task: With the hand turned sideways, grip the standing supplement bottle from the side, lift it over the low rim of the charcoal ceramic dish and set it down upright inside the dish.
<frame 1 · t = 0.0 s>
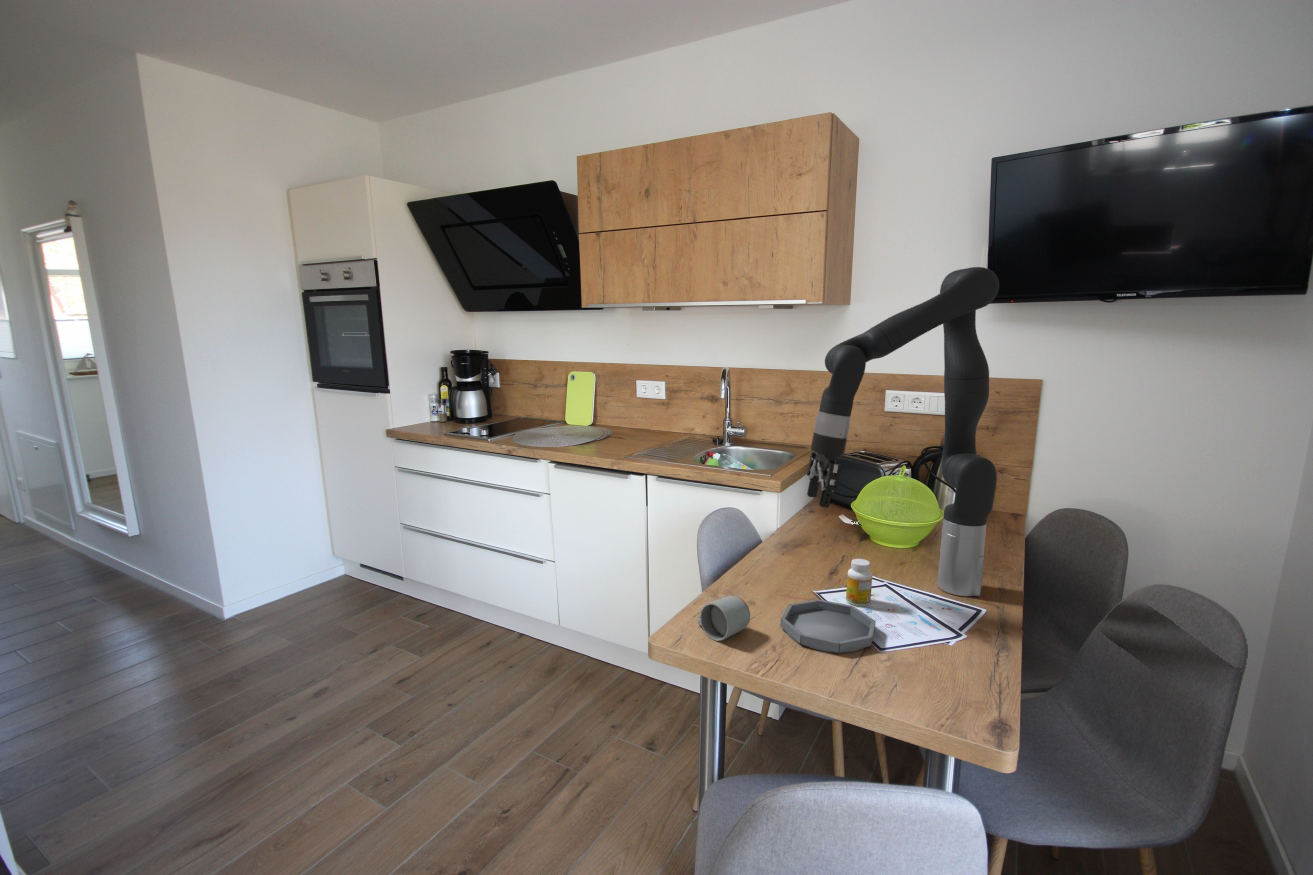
hand: (817, 501, 140), 22 cm above the table, tool pointing down, fingers open, 8 cm apart
fork: (868, 528, 193), on the table
dish: (827, 630, 126), on the table
supplement bottle: (857, 602, 139), on the table
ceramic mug: (719, 632, 125), on the table
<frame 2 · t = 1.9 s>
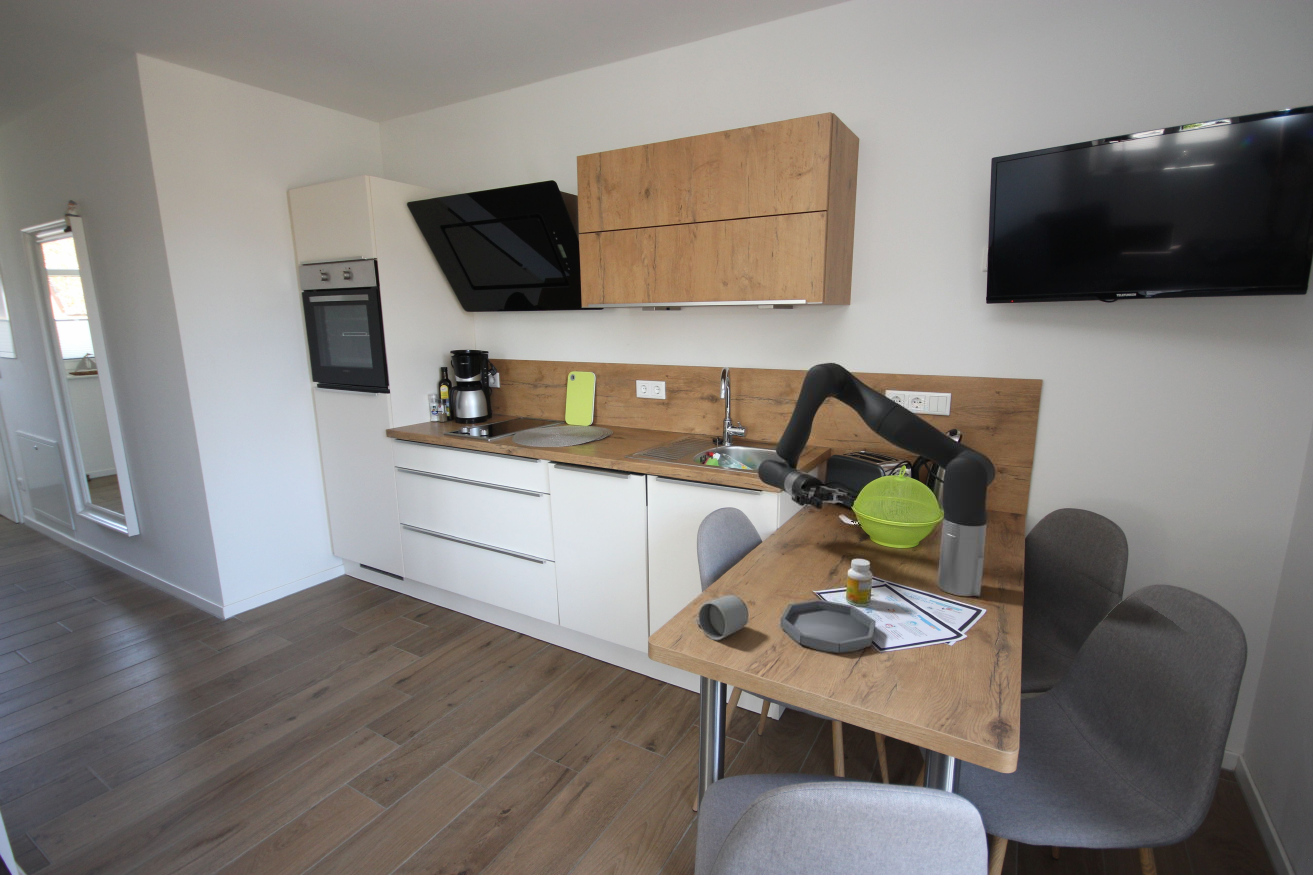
hand: (836, 504, 146), 20 cm above the table, tool horizontal, fingers open, 8 cm apart
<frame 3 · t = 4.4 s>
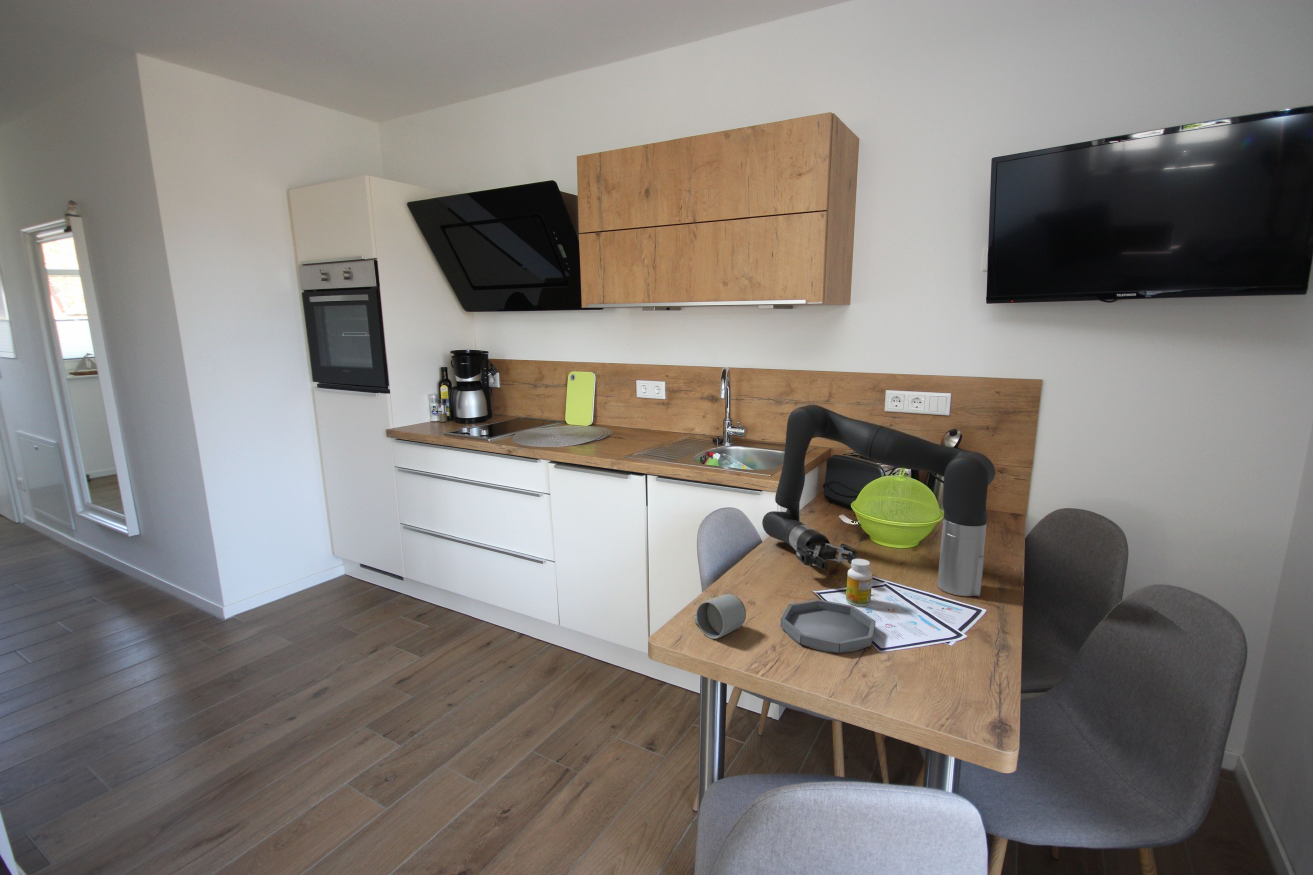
hand: (842, 564, 145), 6 cm above the table, tool horizontal, fingers open, 8 cm apart
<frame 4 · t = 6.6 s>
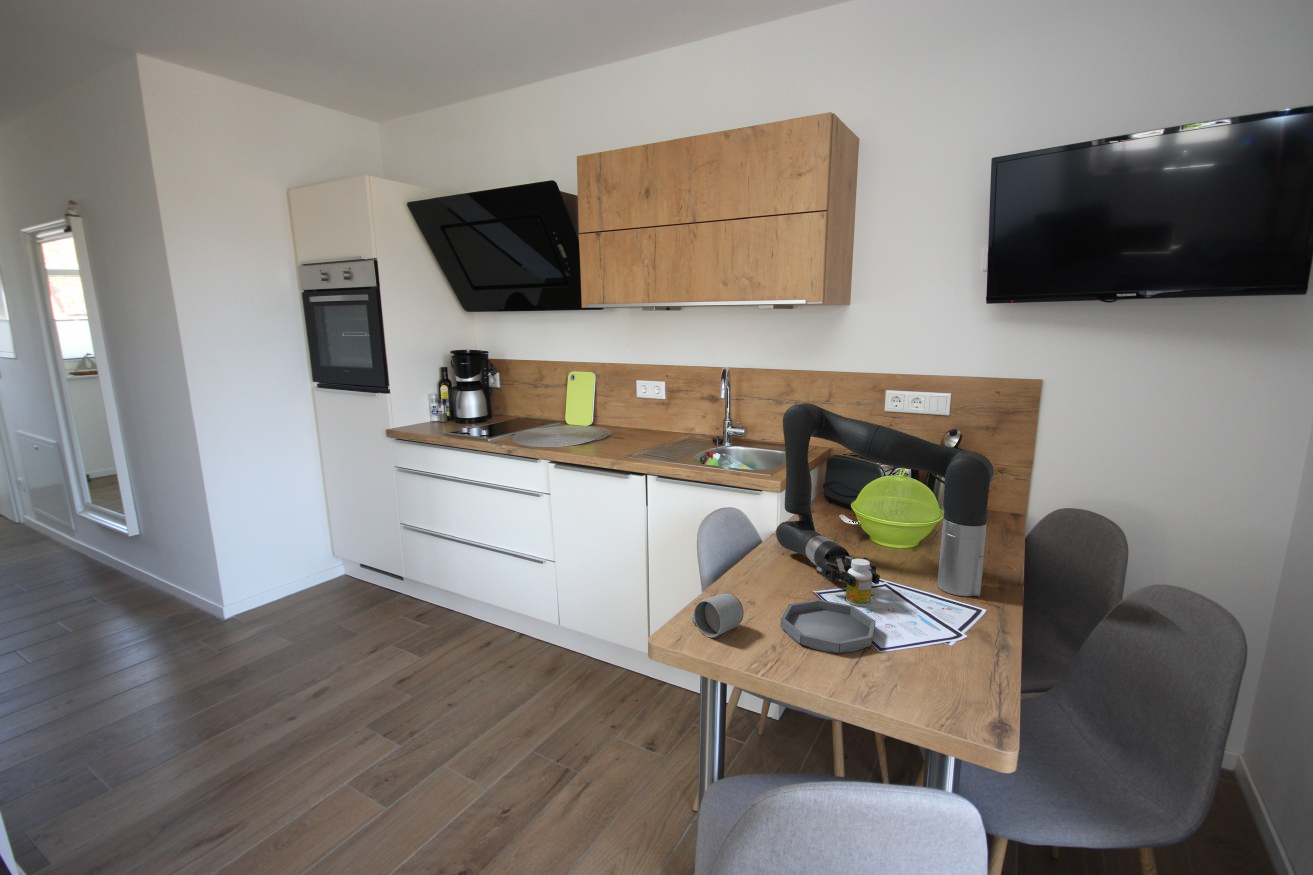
hand: (866, 581, 136), 6 cm above the table, tool horizontal, fingers closed on supplement bottle, 5 cm apart
supplement bottle: (857, 602, 139), on the table, touching gripper
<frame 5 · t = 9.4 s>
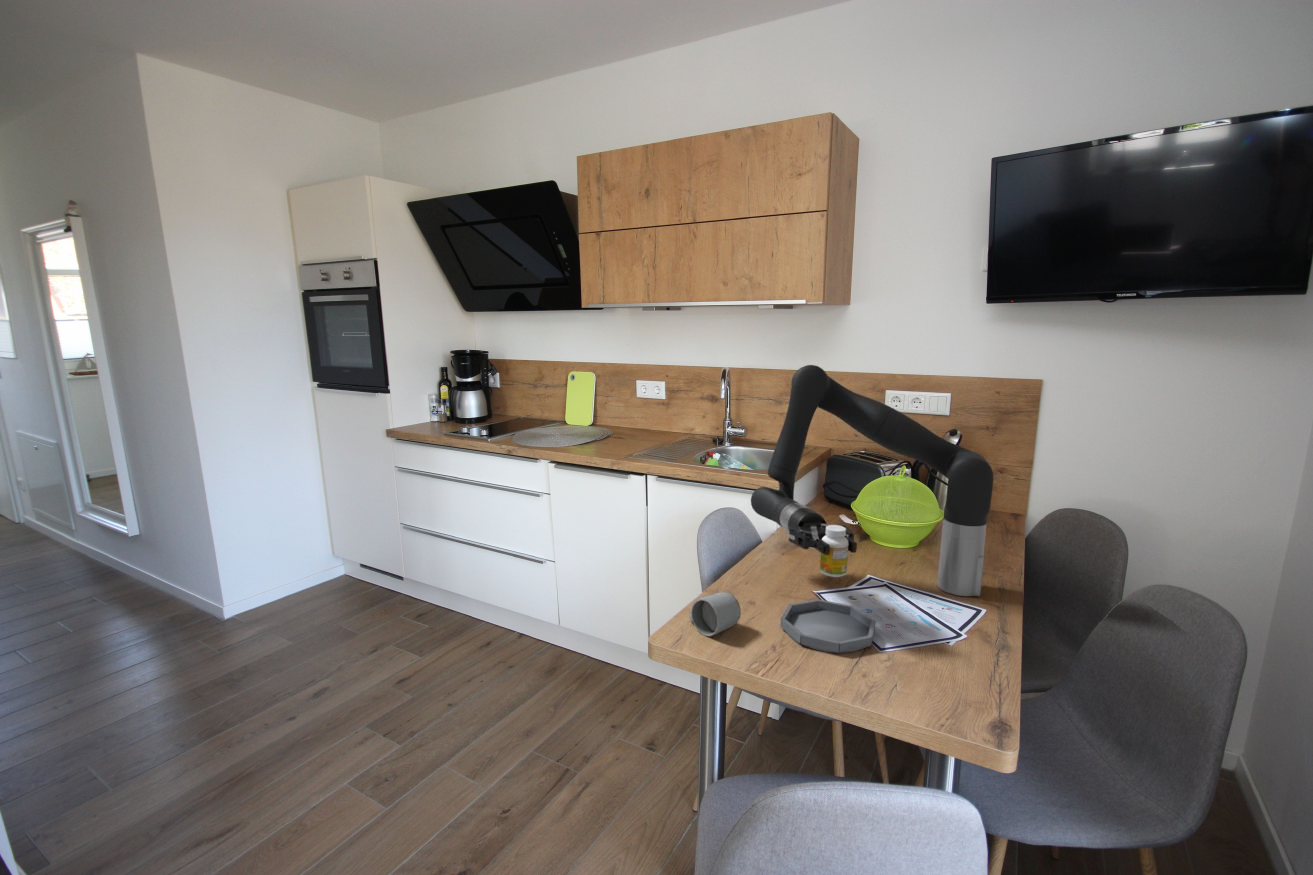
hand: (841, 549, 123), 18 cm above the table, tool horizontal, fingers closed on supplement bottle, 5 cm apart
supplement bottle: (832, 573, 126), point 11 cm above the table, touching gripper
when the fingers open (8 cm above the table, at t = 12.5 s): supplement bottle drops 1 cm, resting on dish.
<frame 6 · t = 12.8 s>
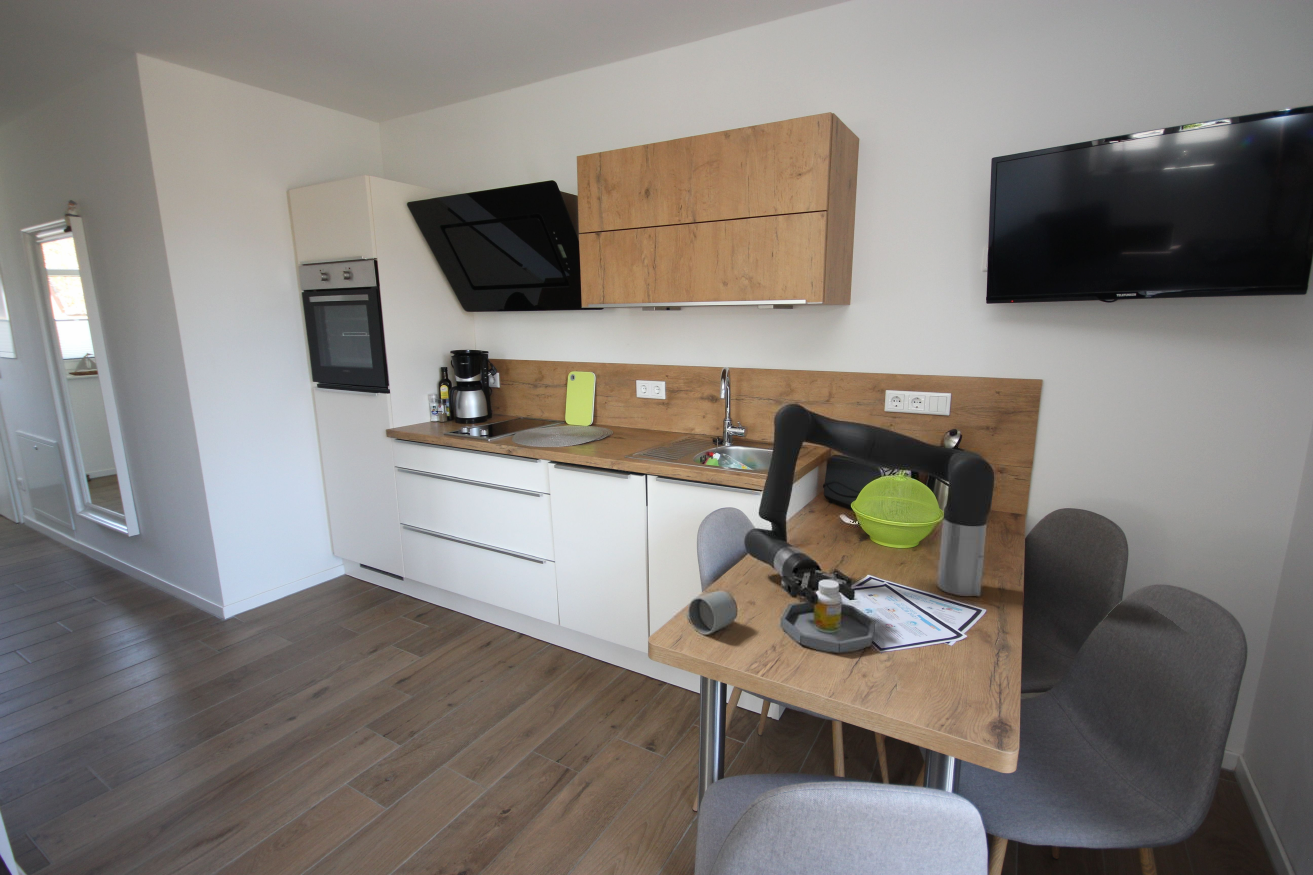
hand: (834, 597, 122), 8 cm above the table, tool horizontal, fingers open, 8 cm apart
supplement bottle: (826, 628, 126), resting on dish
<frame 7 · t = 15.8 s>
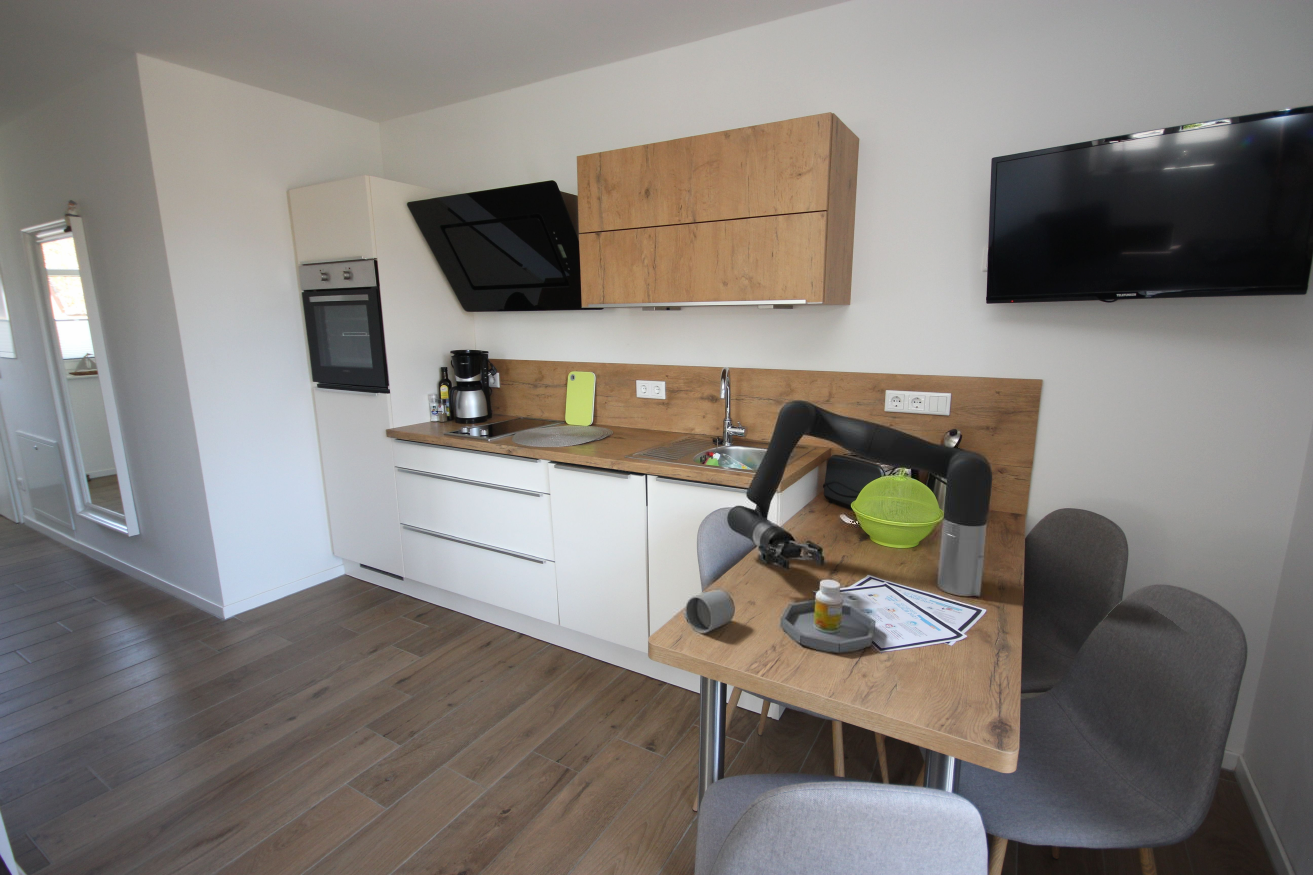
hand: (805, 563, 135), 10 cm above the table, tool horizontal, fingers open, 8 cm apart
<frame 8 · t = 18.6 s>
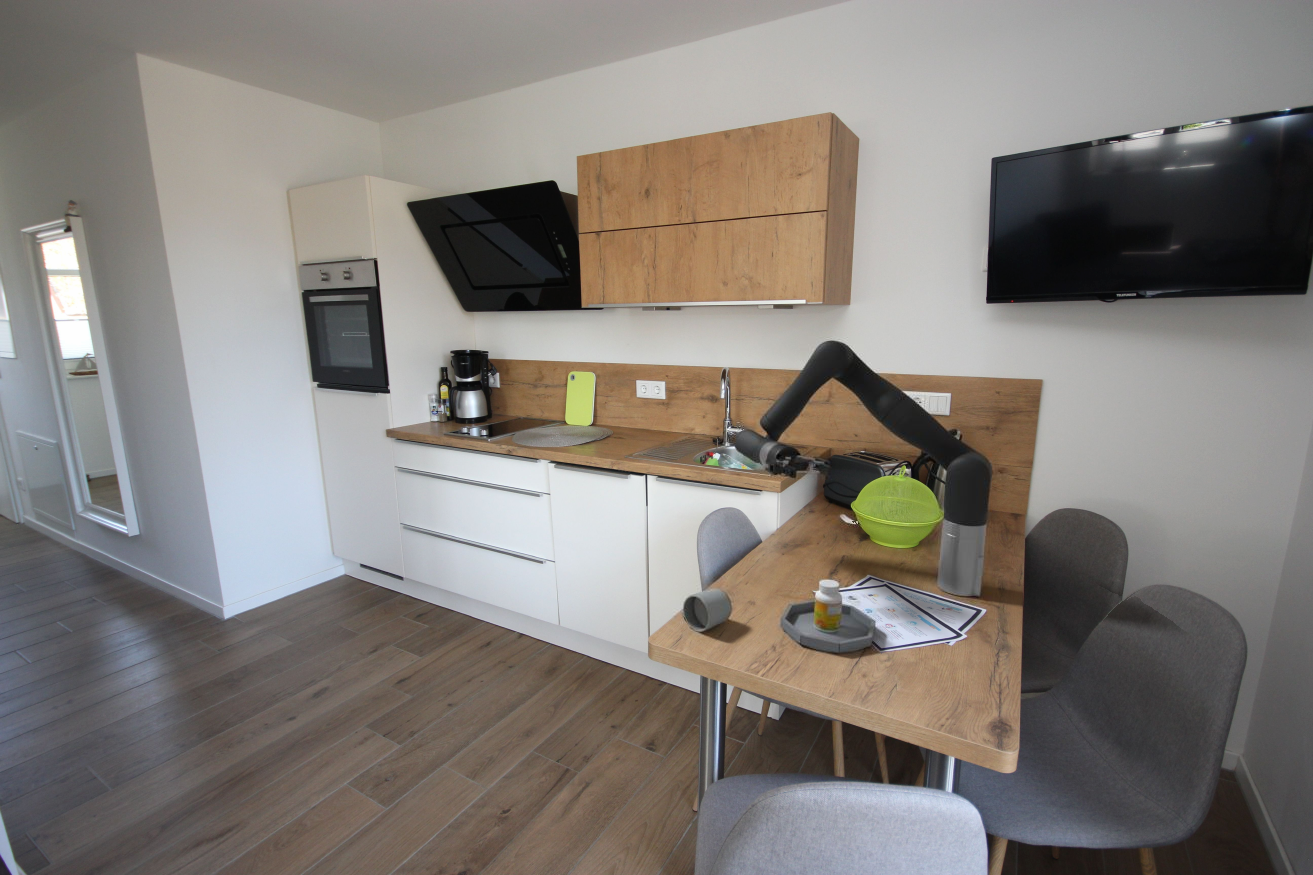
hand: (812, 472, 136), 30 cm above the table, tool horizontal, fingers open, 8 cm apart
at the end: supplement bottle inside the target area on the dish (0.2 cm from its centre), point 0.4 cm above the dish's base; supplement bottle tilted 1°; the gripper is holding nothing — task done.
